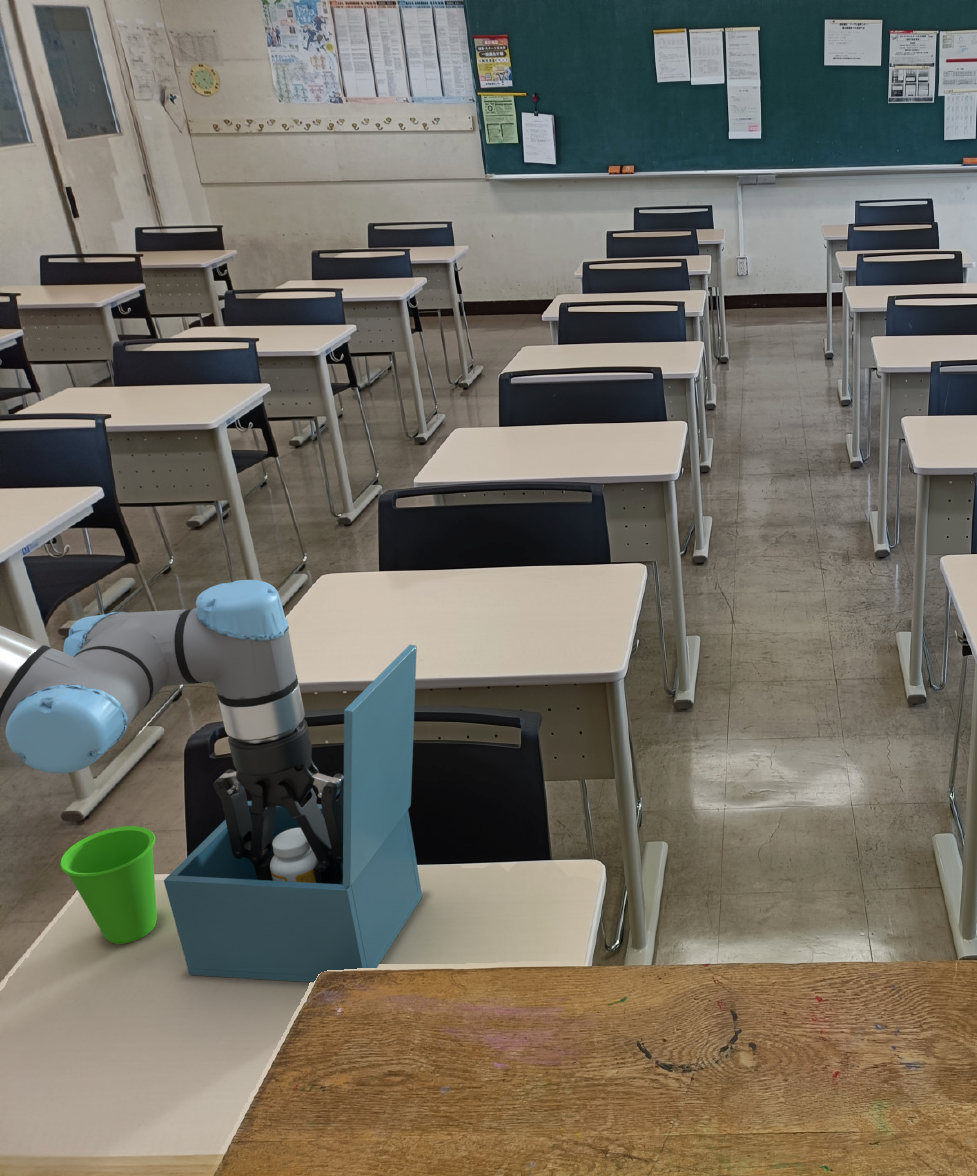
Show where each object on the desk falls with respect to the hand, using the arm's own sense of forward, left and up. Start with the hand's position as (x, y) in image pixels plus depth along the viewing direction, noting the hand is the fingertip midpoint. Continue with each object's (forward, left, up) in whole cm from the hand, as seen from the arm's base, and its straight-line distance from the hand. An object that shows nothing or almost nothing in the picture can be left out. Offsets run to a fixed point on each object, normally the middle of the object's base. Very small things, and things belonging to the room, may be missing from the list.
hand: (306, 907), depth 117 cm
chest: (0, 0, -4) cm, 4 cm away
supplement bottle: (0, 0, 0) cm, 0 cm away
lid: (+11, 0, +19) cm, 23 cm away
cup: (-21, -1, -4) cm, 21 cm away
